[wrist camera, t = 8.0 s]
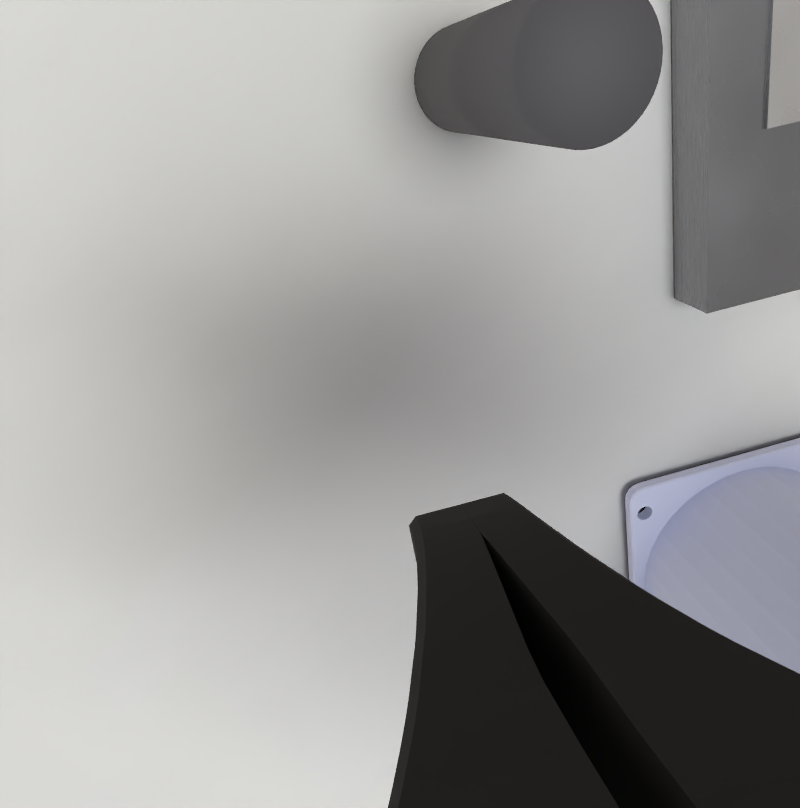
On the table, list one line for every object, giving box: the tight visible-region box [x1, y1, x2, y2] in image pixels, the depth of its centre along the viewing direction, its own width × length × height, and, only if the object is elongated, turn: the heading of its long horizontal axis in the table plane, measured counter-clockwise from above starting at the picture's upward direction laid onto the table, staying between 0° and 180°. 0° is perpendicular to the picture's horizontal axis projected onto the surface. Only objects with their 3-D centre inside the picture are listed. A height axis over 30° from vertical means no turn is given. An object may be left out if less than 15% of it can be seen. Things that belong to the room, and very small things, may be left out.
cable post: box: [414, 0, 663, 150], centre depth 13 cm, size 2×2×7 cm
